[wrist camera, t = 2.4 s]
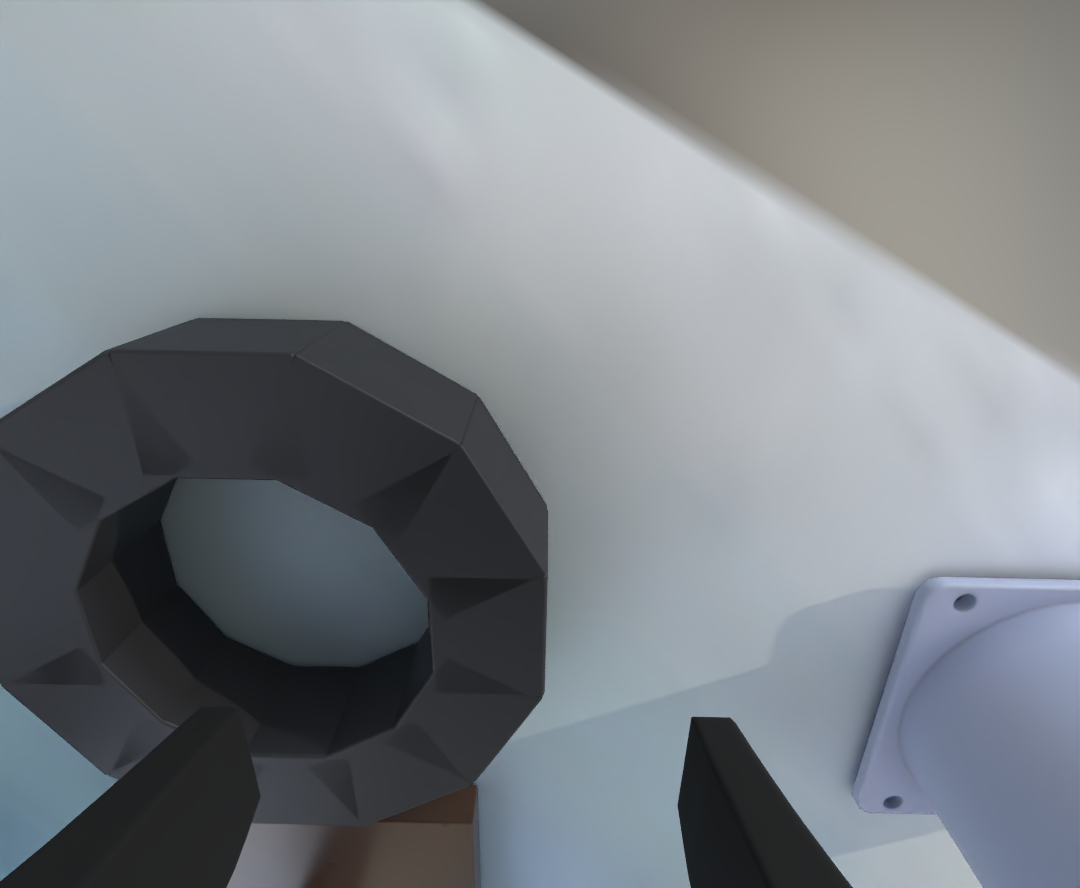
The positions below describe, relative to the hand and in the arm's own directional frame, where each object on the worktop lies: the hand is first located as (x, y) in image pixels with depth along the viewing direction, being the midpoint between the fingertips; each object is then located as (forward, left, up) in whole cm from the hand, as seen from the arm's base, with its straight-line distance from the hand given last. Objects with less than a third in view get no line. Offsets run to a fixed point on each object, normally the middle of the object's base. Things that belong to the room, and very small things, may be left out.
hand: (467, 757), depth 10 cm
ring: (+5, 0, -6) cm, 7 cm away
